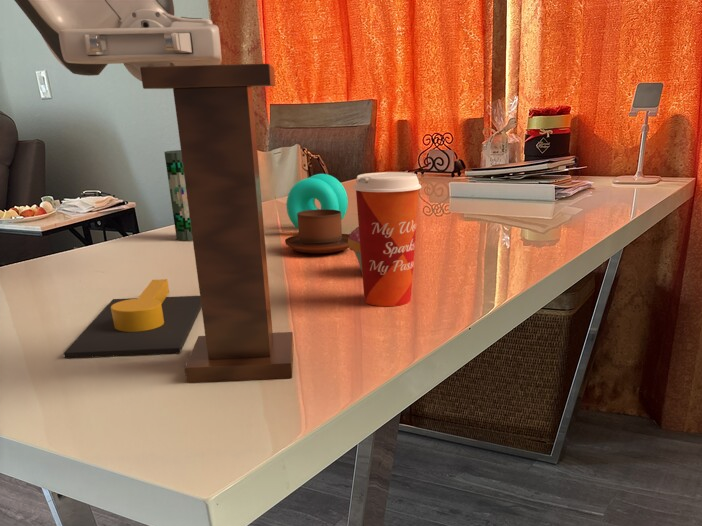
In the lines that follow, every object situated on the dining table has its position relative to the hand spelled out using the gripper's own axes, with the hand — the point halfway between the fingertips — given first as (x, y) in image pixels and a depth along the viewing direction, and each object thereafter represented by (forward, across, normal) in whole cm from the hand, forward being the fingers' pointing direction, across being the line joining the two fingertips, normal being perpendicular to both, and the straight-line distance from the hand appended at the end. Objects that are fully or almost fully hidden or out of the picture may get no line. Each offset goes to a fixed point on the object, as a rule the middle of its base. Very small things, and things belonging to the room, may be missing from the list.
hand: (131, 42), depth 86 cm
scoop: (+14, 0, +29) cm, 32 cm away
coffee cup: (+11, +30, +30) cm, 44 cm away
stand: (+33, +13, +30) cm, 46 cm away
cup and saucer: (-23, +22, +30) cm, 44 cm away
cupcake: (-5, +30, +30) cm, 43 cm away
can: (-40, -2, +30) cm, 50 cm away
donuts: (-42, +22, +30) cm, 56 cm away
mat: (+18, 0, +30) cm, 35 cm away
